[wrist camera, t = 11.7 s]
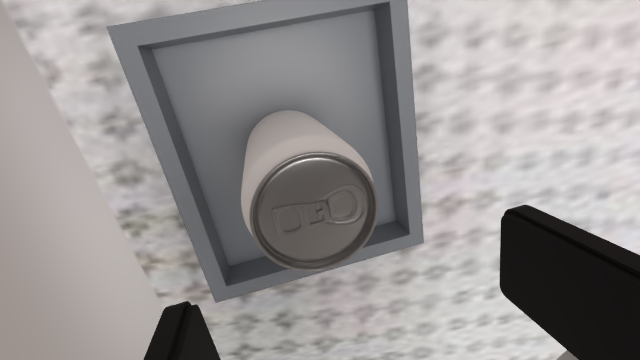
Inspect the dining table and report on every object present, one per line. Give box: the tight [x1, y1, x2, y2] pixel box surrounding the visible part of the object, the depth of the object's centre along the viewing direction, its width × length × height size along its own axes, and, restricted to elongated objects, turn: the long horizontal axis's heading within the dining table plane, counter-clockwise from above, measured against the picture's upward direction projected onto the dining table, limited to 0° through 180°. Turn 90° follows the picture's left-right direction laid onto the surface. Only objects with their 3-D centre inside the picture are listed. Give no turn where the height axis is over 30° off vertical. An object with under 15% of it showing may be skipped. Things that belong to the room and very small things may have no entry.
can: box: [241, 110, 379, 272], centre depth 18 cm, size 6×6×12 cm
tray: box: [107, 0, 424, 303], centre depth 23 cm, size 20×18×4 cm
